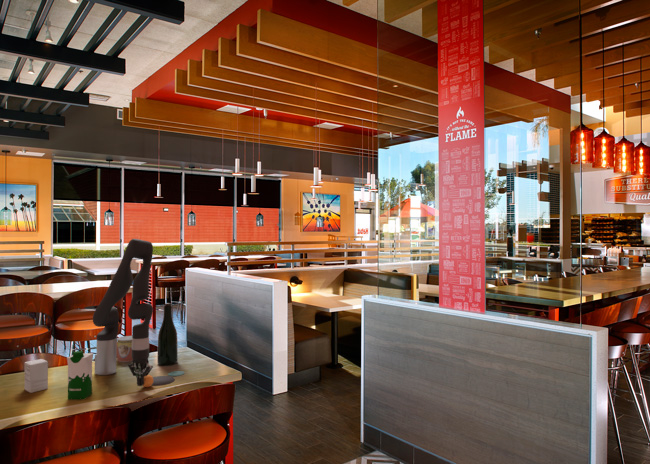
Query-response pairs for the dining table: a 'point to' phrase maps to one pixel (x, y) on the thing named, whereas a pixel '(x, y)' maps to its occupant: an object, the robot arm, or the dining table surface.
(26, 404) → the dining table surface
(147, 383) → the ball
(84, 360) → the milk carton
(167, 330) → the dark green wine bottle
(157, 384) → the disc
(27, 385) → the supplement box
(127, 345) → the canned food
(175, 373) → the disc
